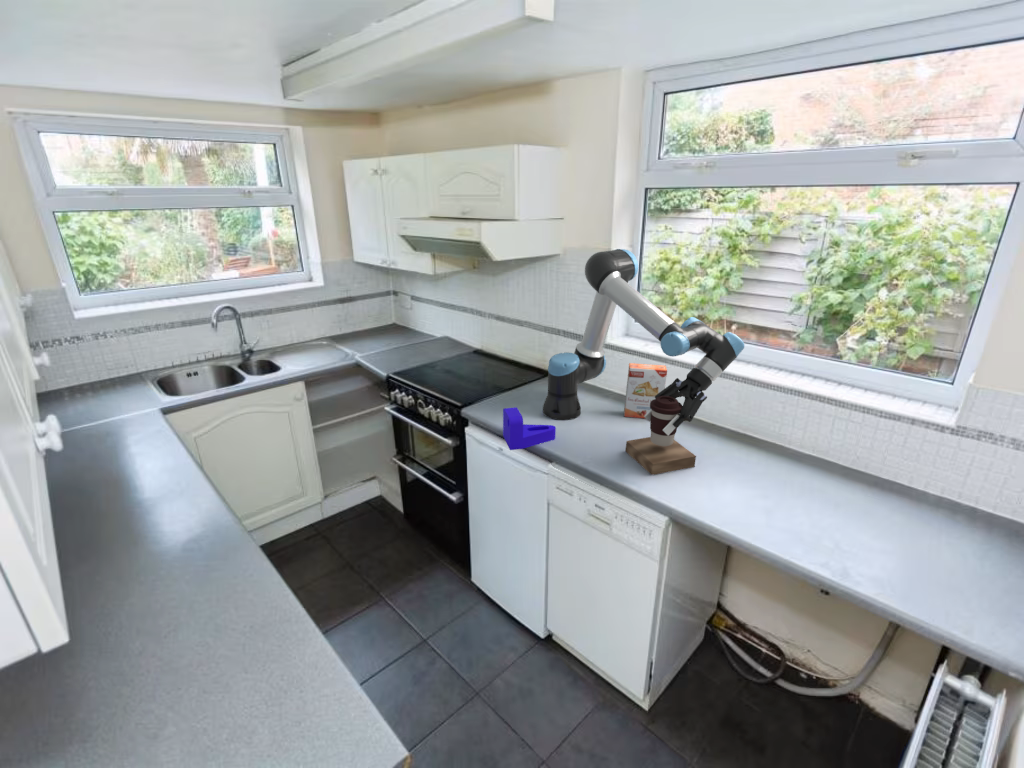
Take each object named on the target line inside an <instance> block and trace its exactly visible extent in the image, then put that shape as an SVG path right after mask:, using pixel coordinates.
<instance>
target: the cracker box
mask: <svg viewBox="0 0 1024 768" xmlns="http://www.w3.org/2000/svg"><path fill="white" fill-rule="evenodd" d="M667 375H668V369H667V366H666V365H661V364H645V363H635V362H633V363H631V362H629V364H628V372H627V381H626V391H625V398H624V399H625V400H624V409H623V413H624V417H625V418H638V419H646V418H645V417H644V416H645V415H646V414H647V412H648V411H649V410H650V402H651V401H652V400H654V399H656V398H655V396H656V395H657V394H658V393H660V392H661V391H662V390H664V389H665V388H666V382H667V377H668V376H667Z"/></svg>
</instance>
